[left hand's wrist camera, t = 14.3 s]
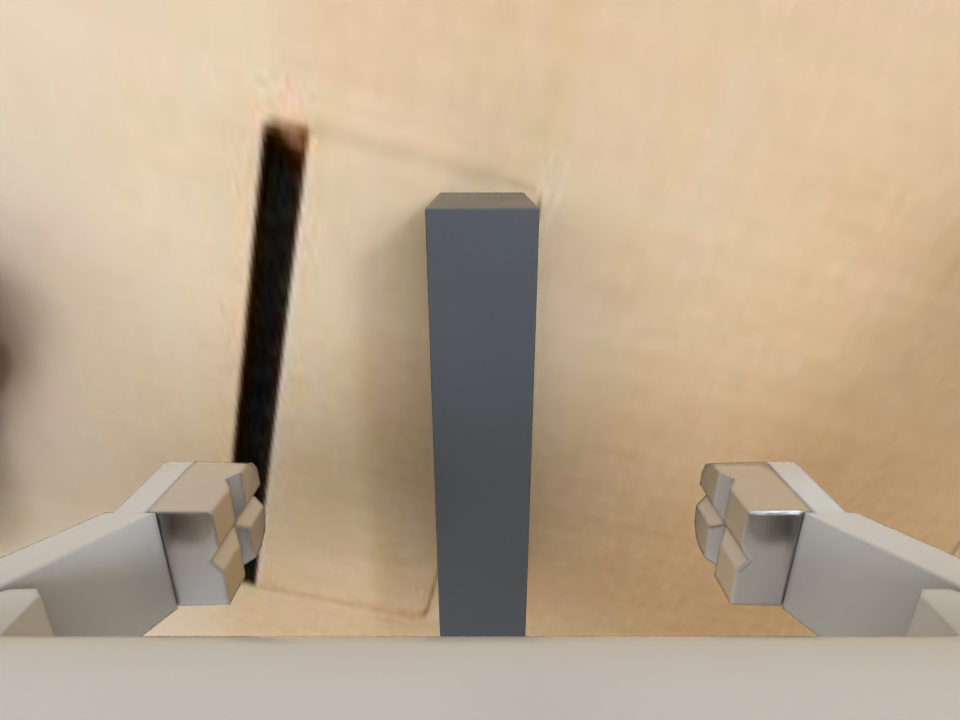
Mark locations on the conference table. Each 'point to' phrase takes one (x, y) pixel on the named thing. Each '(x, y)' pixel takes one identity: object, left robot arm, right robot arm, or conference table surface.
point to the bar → (482, 404)
